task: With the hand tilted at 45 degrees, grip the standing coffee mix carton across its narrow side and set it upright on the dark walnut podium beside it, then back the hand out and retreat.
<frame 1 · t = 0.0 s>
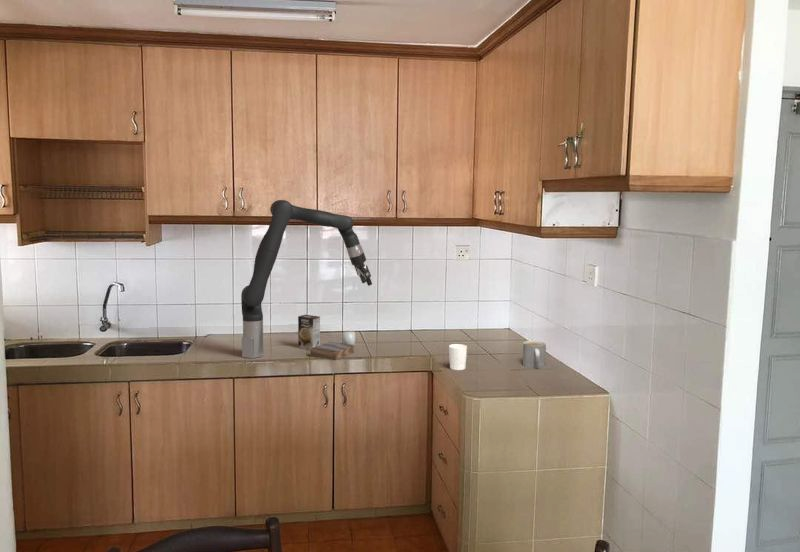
hand: (367, 283, 322), 31 cm above the worktop, tool tilted 20°, fingers open, 8 cm apart
coffee box: (309, 348, 320), on the worktop
white cup: (457, 368, 286), on the worktop
grey cup: (349, 348, 321), on the worktop
podium: (332, 354, 308), on the worktop
coffee mug: (533, 366, 290), on the worktop
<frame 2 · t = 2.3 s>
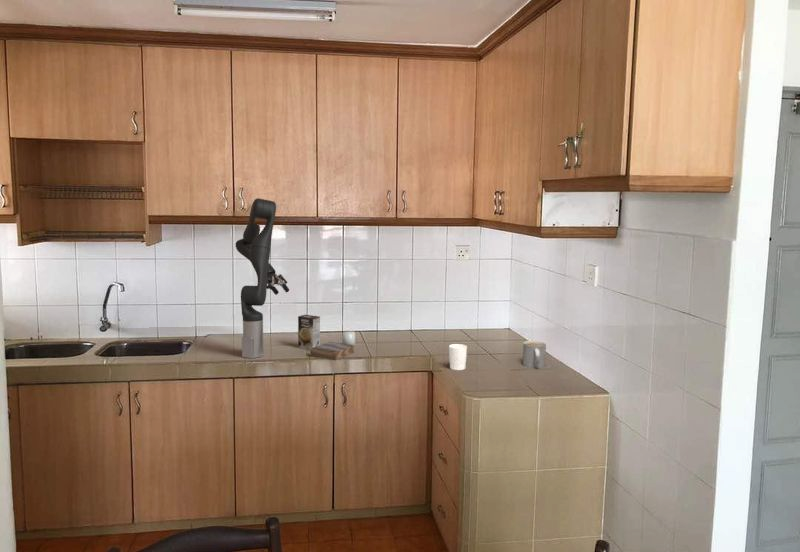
hand: (282, 292, 325), 26 cm above the worktop, tool tilted 45°, fingers open, 8 cm apart
nothing on the worktop moved.
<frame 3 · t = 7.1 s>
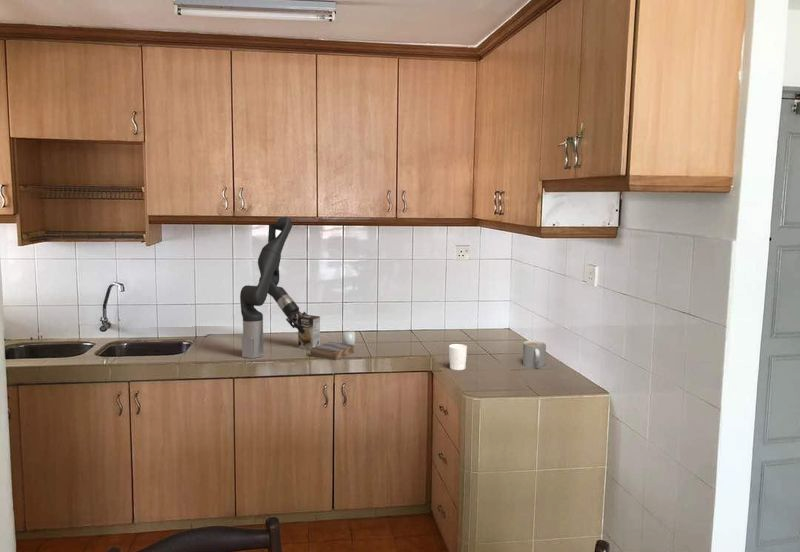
hand: (307, 331, 319), 8 cm above the worktop, tool tilted 45°, fingers closed on coffee box, 6 cm apart
coffee box: (309, 348, 320), on the worktop, touching gripper
everything else where it was.
when the fingers open (14 cm above the worktop, at t = 13.8 s): coffee box drops 1 cm, point 4 cm above the worktop.
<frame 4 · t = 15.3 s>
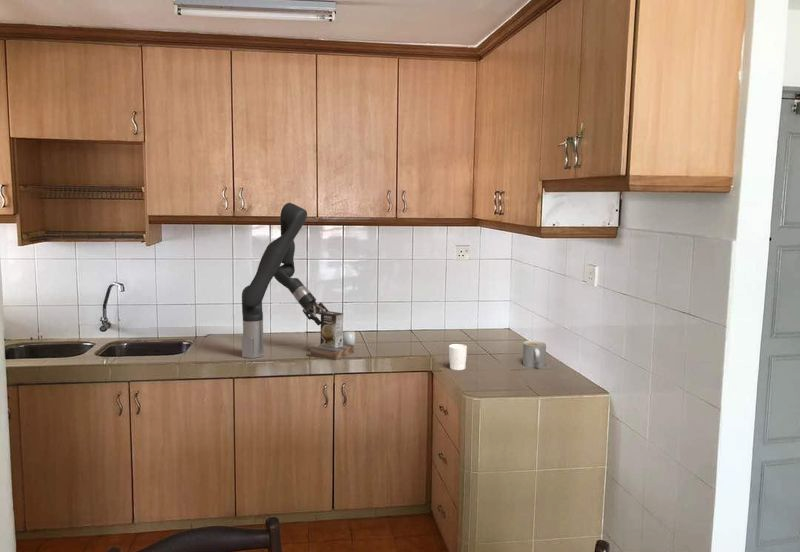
hand: (324, 322, 309), 15 cm above the worktop, tool tilted 45°, fingers open, 8 cm apart
coffee box: (331, 346, 307), point 4 cm above the worktop, touching gripper
everything else where it was.
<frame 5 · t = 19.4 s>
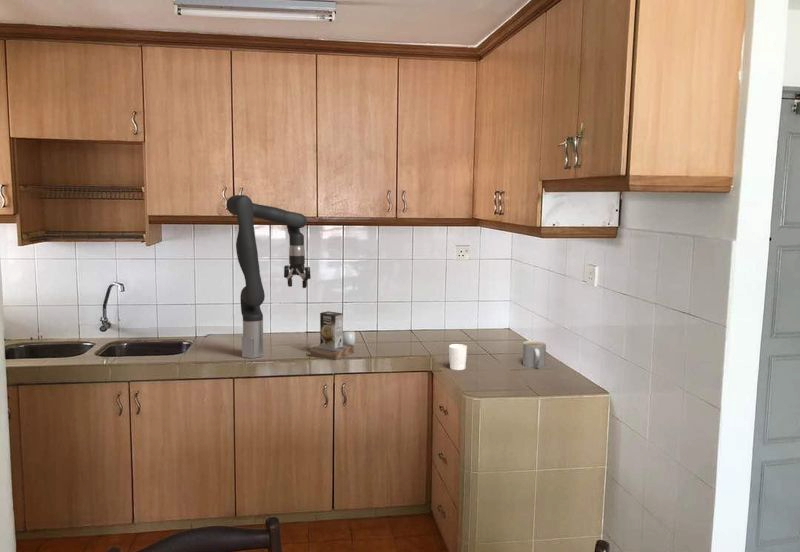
hand: (297, 287, 318), 30 cm above the worktop, tool pointing down, fingers open, 8 cm apart
coffee box: (331, 346, 307), point 4 cm above the worktop, touching podium
everything else where it was.
at the end: coffee box inside the target area on the podium (0.5 cm from its centre), point 3.8 cm above the podium's base; coffee box tilted 0°; the gripper is holding nothing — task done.
